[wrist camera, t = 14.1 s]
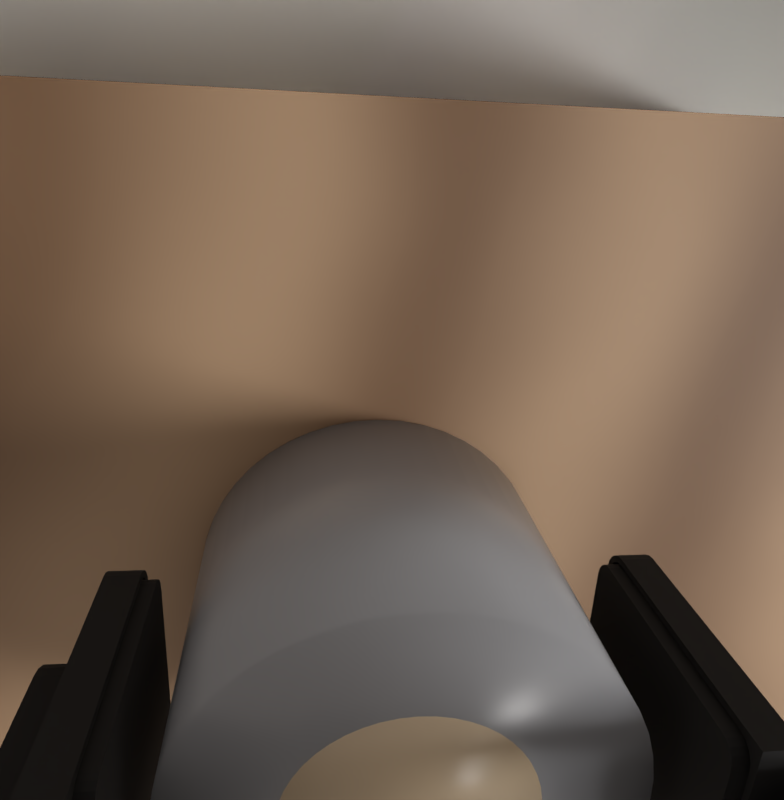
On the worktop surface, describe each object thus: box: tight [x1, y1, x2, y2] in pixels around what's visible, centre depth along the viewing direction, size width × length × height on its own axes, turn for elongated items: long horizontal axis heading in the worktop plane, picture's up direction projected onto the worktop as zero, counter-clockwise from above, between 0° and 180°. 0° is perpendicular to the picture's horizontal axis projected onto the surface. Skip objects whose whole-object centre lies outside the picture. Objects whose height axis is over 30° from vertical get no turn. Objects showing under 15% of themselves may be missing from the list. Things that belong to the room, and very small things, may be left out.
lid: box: [0, 75, 784, 747], centre depth 14 cm, size 20×16×1 cm
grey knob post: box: [151, 420, 654, 800], centre depth 11 cm, size 6×6×5 cm
